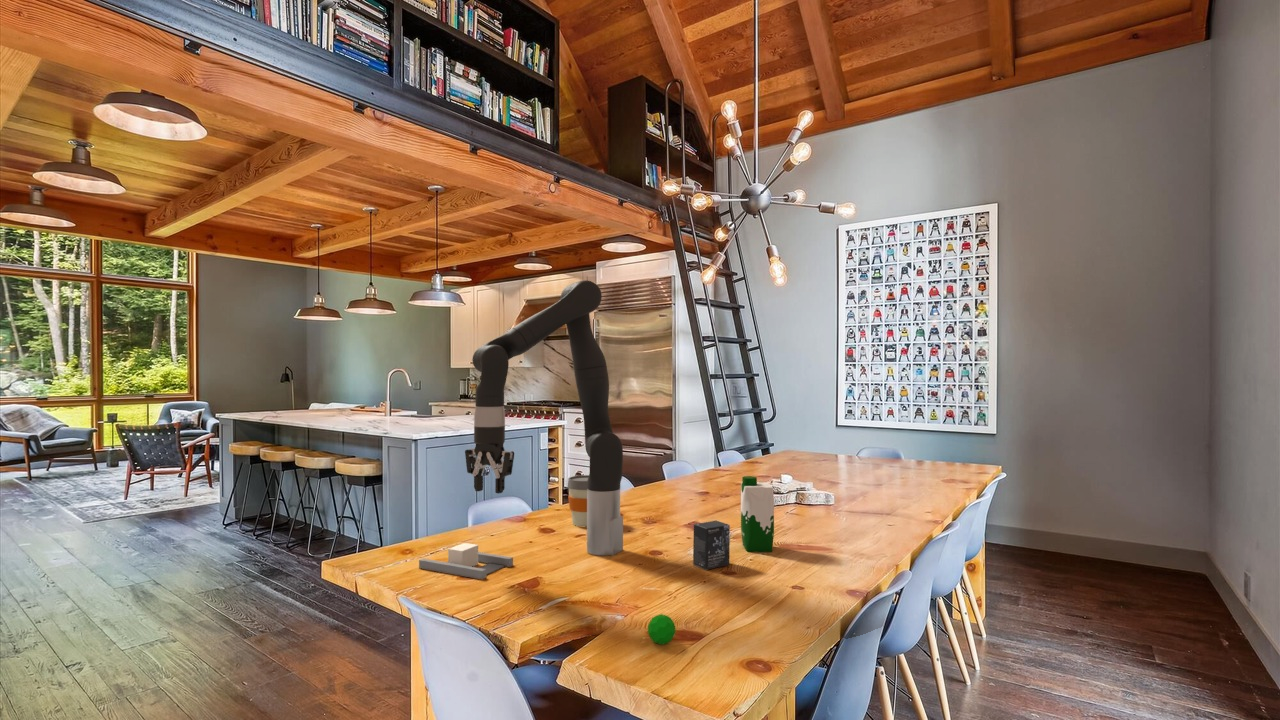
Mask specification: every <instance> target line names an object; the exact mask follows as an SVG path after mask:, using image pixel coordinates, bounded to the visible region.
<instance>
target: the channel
mask: <svg viewBox="0 0 1280 720" xmlns="http://www.w3.org/2000/svg"><path fill="white" fill-rule="evenodd" d="M478 563H484V565H482V566H479V567H475V566H473V567H470V566H465V565H459V564H453V563H448V561H447V562H446V561H440V560H435V559H429V558H422V559H418V568H419V569H421V568H422V570H426V571H427V570H428V571H432V572H437V573H444V574H449V575H450V574H451V575H455V576H460V577H461V576H462V577H465V578H466V577H467V578H473V579H478V580H484V579H486V578H487V576H489V575H490V574H493V573H495V572H497V571H499V570H502V569H504V568H505V567H508V568H510V567H512V566H513V565H514V557H513V556H507V555H501V554H494V553H487V552H480V551H478Z"/></svg>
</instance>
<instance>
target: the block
mask: <svg viewBox="0 0 1280 720" xmlns="http://www.w3.org/2000/svg"><path fill="white" fill-rule="evenodd" d="M447 551H448V552H447V560H448V561H447V563H453V564H459V565H465V566H470V567H472V566H473V567H475V566H477V565H479V562H478V552H479V544H474V543H473V544H472V543H468V542H463V543H460V544H459V545H455V546H453V547H449V548H448V549H447Z"/></svg>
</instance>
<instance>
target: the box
mask: <svg viewBox="0 0 1280 720" xmlns="http://www.w3.org/2000/svg"><path fill="white" fill-rule="evenodd" d="M730 527H731V525H730V524H728V523H725V522H722V521H720V520H719V521H718V520H712V521H710V520H709V521H706V522H700V523H693V540H692V542H693V550H692V551H693V552H692V553H693V554H692V555H693V556H692V559H693V560H692V564H693V566H696V567H698V568H701V569H702V570H705V571H708V570H713V569H716V568H720V567H726V566H727V567H728V566H730V557H731V555H730V549H731V548H730V545H731V544H730V540H731V537H730V536H731V535H730V533H731V532H730V530H731V529H730Z"/></svg>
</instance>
